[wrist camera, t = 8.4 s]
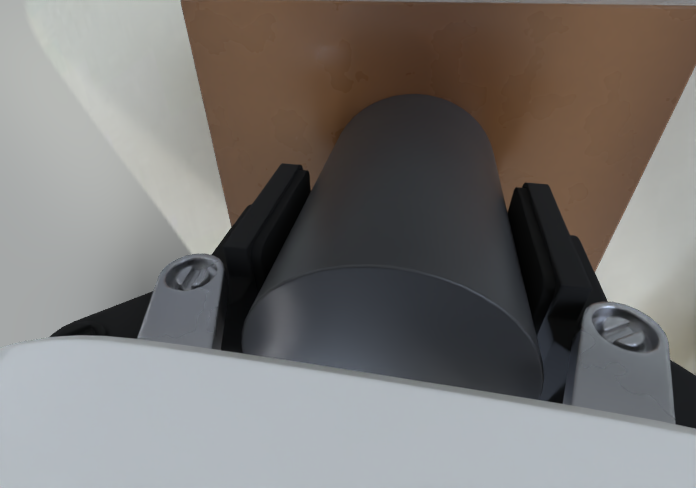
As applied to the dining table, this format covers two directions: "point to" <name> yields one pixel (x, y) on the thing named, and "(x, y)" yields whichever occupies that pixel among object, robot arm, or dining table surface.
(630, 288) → the dining table surface
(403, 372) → the canister
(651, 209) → the dining table surface
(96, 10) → the dining table surface
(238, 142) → the step shelf
